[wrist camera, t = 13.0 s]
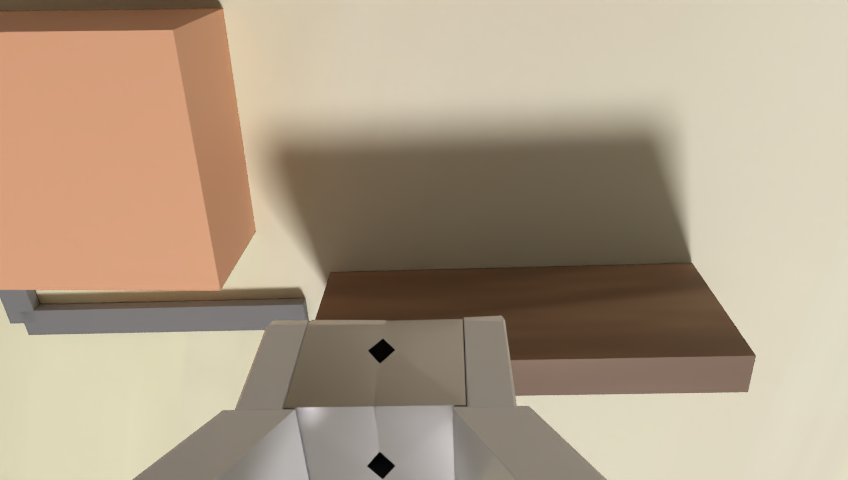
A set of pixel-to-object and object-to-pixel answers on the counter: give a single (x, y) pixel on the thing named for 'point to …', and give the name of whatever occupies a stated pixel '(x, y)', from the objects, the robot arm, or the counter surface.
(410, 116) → the counter surface
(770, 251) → the counter surface
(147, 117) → the block
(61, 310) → the frame
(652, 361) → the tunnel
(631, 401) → the counter surface
